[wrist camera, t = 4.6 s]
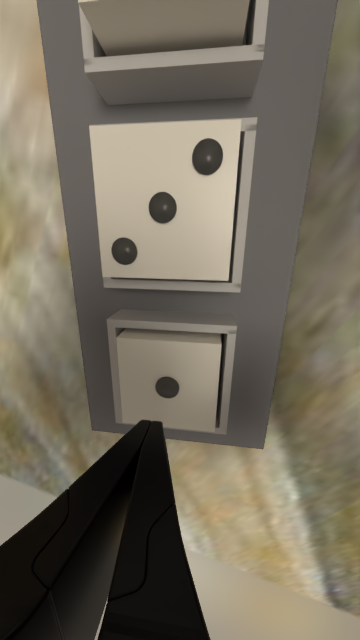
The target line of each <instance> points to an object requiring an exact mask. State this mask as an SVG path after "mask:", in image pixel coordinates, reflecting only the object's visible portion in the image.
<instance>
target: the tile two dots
mask: <svg viewBox="0 0 360 640" xmlns="http://www.w3.org/2000/svg"><path fill="white" fill-rule="evenodd" d="M249 1H250V0H78V3H79V5H80V7H81V9H82V11H83V13H84V15H85V16H86V18H87V20H88V22H89V24H90V26H91V28H92V30H93V32H94V33H95V35H96V37H97V39H98V41H99V43H100V45H101V47H102V49H103V50H104V52H105V54H106V56H107V57H108V56H121V55H133V54H145V53H158V52H170V51H182V50H195V49H207V48H219V47H232V46H242V44H243V38H244V32H245V26H246V20H247V14H248V7H249Z"/></svg>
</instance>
